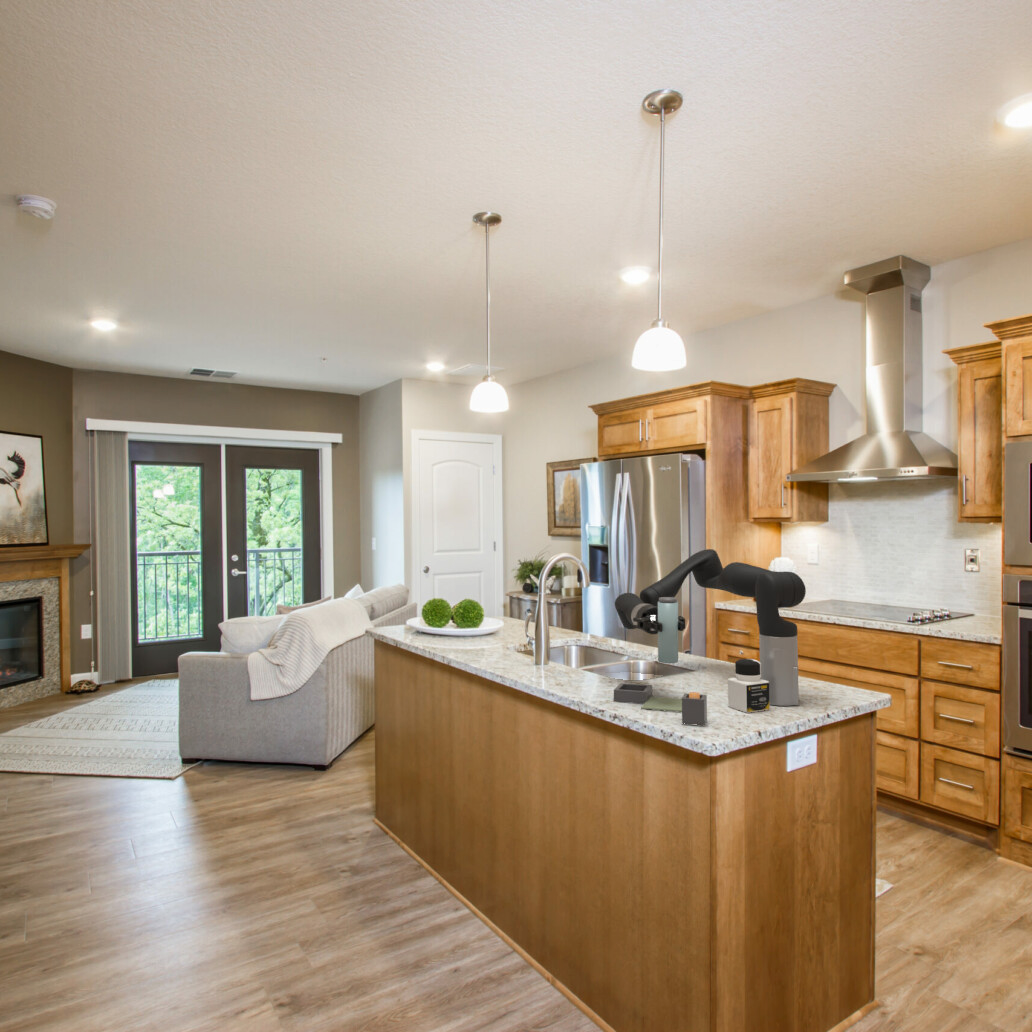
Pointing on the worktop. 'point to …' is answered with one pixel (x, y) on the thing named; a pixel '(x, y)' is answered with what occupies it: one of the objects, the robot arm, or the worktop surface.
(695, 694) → the plunger
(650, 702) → the rubber mat
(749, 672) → the medicine bottle
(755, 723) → the worktop surface
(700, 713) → the gray square socket block
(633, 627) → the robot arm
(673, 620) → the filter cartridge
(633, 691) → the cartridge socket
